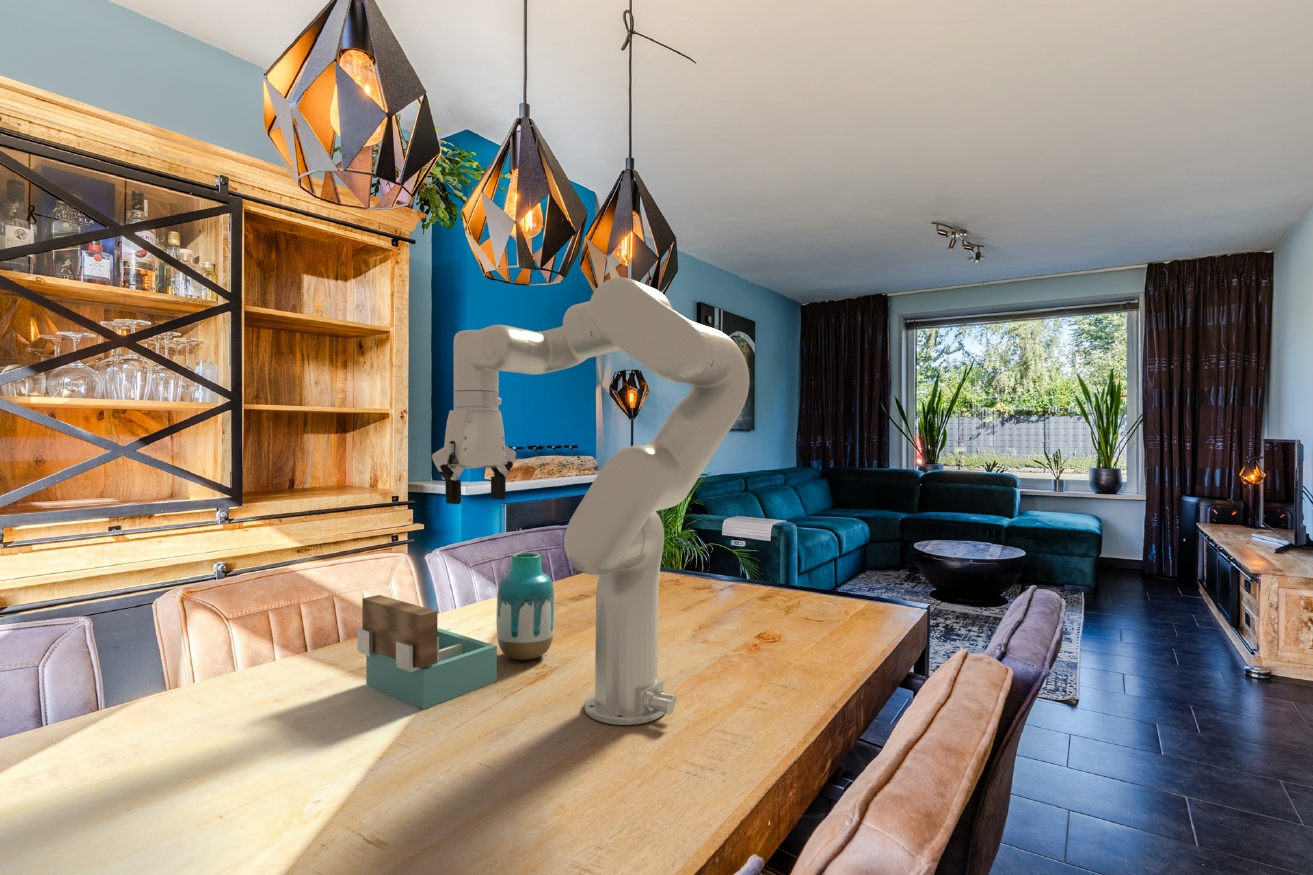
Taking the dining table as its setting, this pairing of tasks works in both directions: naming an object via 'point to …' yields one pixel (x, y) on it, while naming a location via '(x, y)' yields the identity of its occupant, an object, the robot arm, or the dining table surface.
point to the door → (401, 628)
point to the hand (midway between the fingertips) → (476, 501)
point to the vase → (525, 609)
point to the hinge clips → (402, 650)
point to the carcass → (437, 672)
